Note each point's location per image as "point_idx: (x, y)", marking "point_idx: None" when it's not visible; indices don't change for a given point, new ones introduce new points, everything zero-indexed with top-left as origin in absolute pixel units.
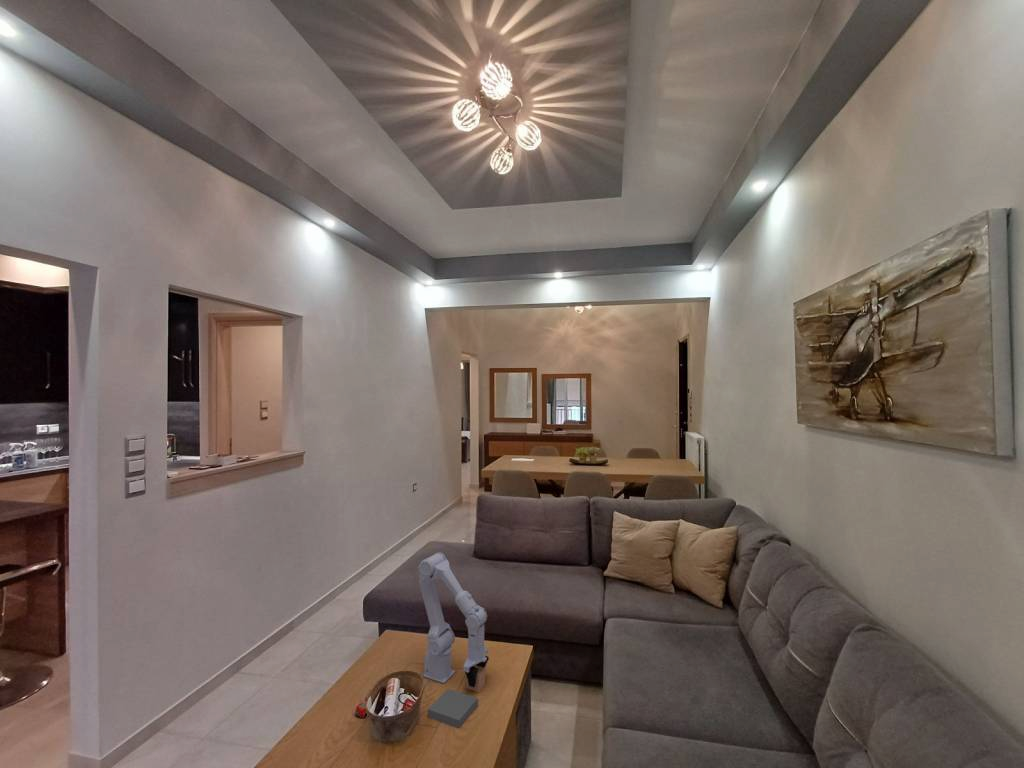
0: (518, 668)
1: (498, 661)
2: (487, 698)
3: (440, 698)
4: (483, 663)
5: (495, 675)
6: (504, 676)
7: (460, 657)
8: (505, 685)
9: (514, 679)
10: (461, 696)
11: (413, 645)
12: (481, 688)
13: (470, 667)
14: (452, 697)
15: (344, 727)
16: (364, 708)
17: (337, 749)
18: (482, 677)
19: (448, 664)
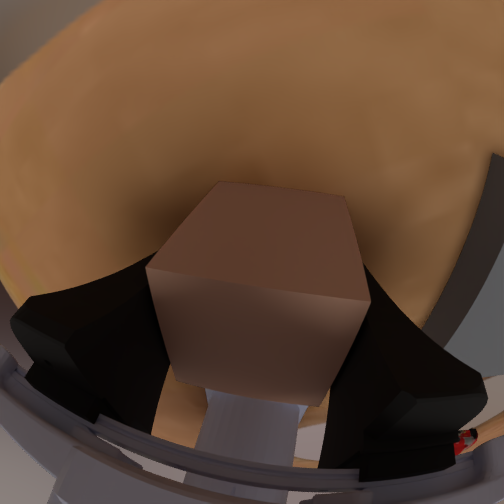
0: (7, 86)
1: (21, 211)
2: (400, 92)
3: (488, 371)
4: (121, 330)
5: (93, 161)
6: (75, 99)
7: None
8: (157, 24)
9: (77, 25)
10: (500, 297)
11: (169, 439)
12: (287, 189)
13: (432, 471)
14: (497, 335)
15: (490, 430)
16: (469, 446)
17: None
18: (256, 229)
19: (252, 446)
